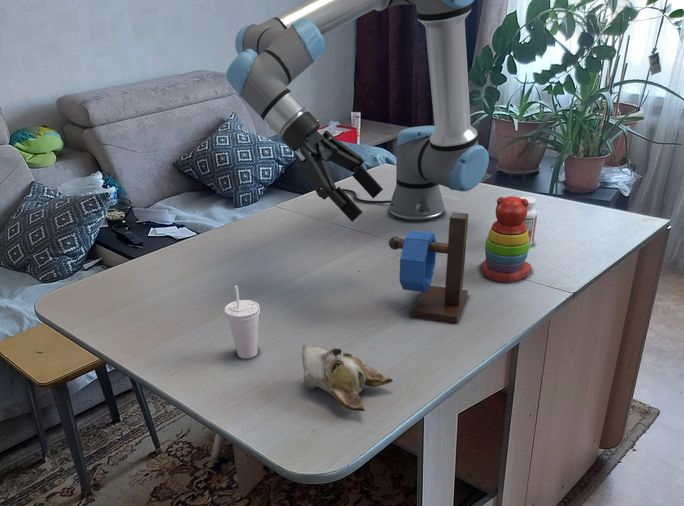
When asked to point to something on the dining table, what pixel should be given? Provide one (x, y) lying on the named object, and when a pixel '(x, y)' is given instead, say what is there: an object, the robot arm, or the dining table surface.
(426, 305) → the stand
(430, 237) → the tape
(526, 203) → the stacking bear
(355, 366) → the ceramic sculpture
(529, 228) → the pill bottle
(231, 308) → the smoothie
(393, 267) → the dining table surface
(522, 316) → the dining table surface
